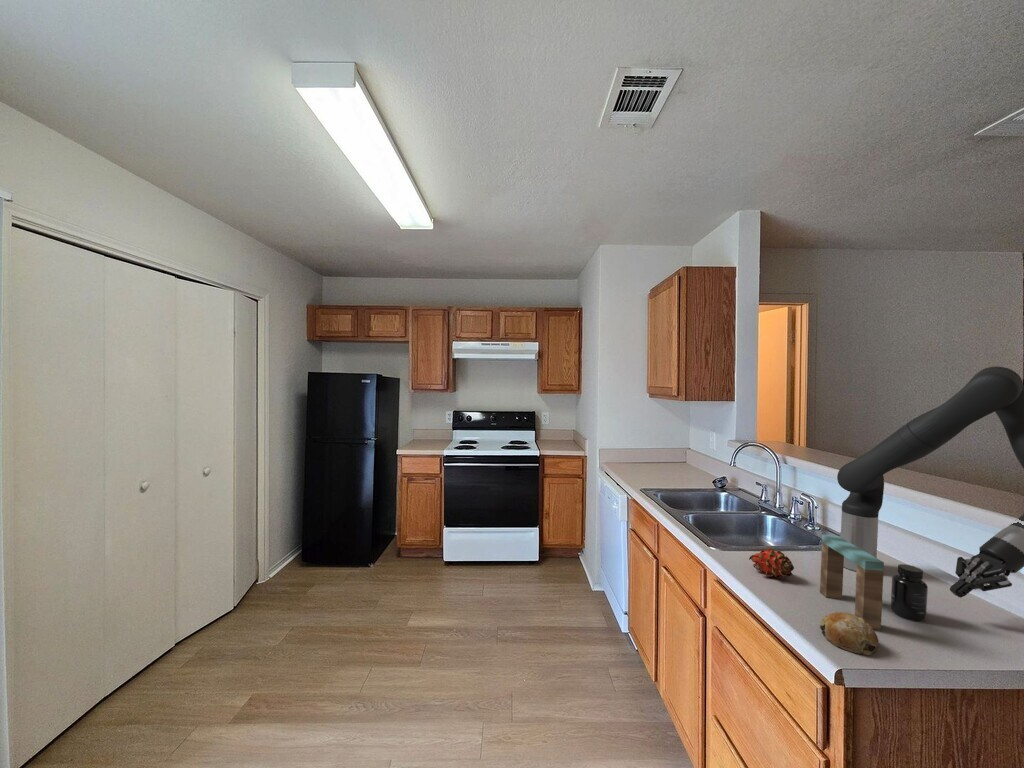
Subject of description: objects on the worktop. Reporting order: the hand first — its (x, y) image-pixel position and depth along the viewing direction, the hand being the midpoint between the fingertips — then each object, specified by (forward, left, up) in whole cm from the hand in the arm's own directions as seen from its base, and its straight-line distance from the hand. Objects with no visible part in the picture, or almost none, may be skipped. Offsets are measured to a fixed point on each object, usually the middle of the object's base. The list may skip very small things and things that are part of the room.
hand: (954, 593), depth 112 cm
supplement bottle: (0, -10, -7) cm, 12 cm away
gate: (0, -24, -6) cm, 25 cm away
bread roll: (+16, -33, -7) cm, 38 cm away
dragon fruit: (-18, -35, -7) cm, 40 cm away
